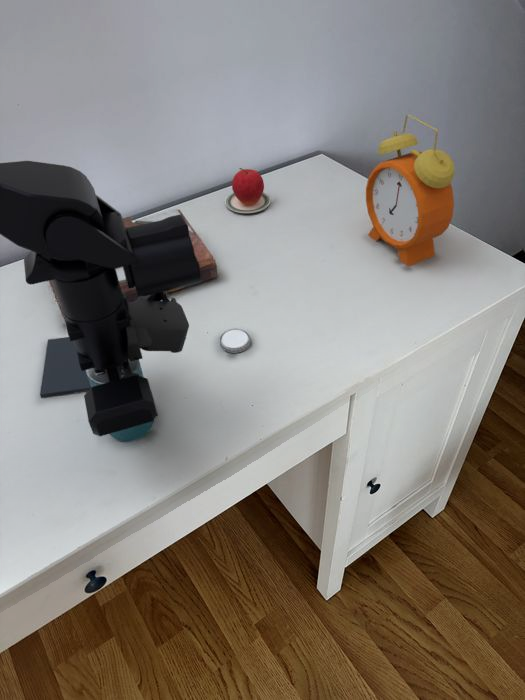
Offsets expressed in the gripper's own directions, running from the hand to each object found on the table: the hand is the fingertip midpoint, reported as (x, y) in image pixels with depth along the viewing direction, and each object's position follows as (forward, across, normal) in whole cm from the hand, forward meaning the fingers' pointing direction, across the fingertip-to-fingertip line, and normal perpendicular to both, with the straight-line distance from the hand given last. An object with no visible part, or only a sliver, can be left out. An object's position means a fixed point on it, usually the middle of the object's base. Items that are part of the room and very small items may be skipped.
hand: (125, 406), depth 65 cm
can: (+3, 0, 0) cm, 3 cm away
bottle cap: (+3, +8, -16) cm, 18 cm away
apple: (+3, +42, -29) cm, 51 cm away
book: (+3, +29, -5) cm, 29 cm away
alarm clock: (+3, +20, -47) cm, 51 cm away
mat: (+3, +12, +4) cm, 13 cm away
